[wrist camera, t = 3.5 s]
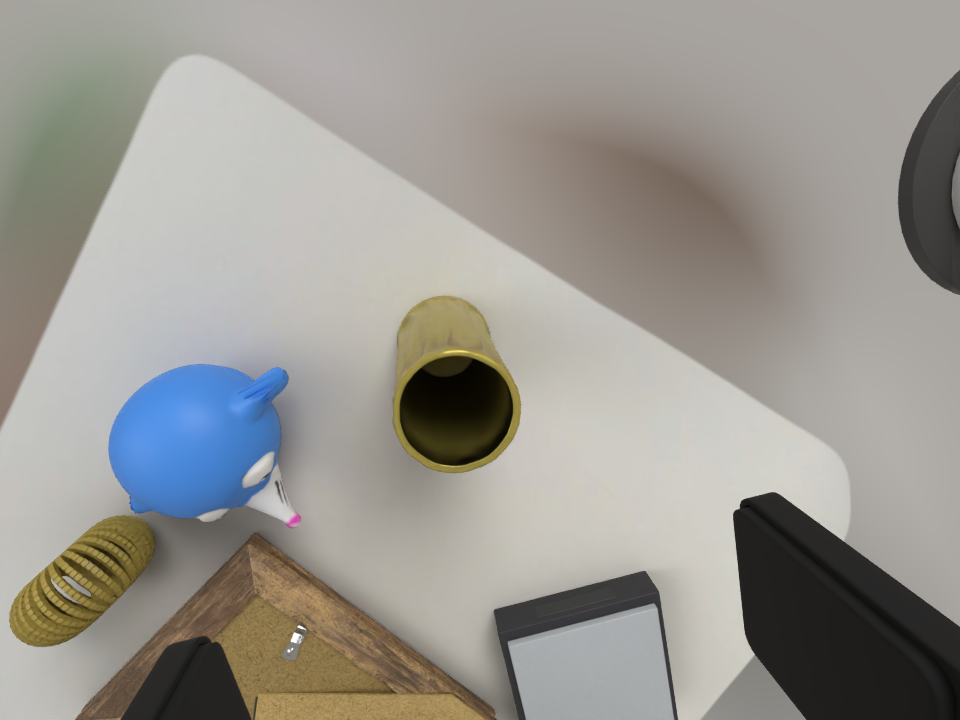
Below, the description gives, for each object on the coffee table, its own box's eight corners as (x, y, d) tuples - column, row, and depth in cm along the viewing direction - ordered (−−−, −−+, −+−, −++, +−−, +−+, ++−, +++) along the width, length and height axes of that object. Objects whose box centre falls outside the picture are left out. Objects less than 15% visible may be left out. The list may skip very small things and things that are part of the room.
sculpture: (106, 594, 36) (21, 691, 29) (57, 557, 35) (-45, 648, 28) (189, 521, 36) (124, 601, 28) (142, 482, 35) (61, 553, 27)
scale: (645, 569, 40) (662, 596, 38) (664, 693, 44) (682, 727, 40) (493, 608, 40) (499, 639, 37) (523, 731, 43) (530, 768, 40)
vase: (414, 398, 35) (409, 503, 22) (384, 312, 34) (356, 365, 20) (501, 370, 36) (550, 456, 22) (474, 283, 34) (508, 317, 20)
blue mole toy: (250, 547, 37) (201, 636, 29) (110, 430, 34) (10, 493, 26) (377, 435, 36) (363, 495, 28) (243, 305, 33) (184, 329, 25)
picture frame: (495, 707, 42) (256, 530, 36) (498, 727, 40) (247, 545, 35) (337, 851, 44) (86, 703, 38) (333, 876, 42) (70, 726, 36)
